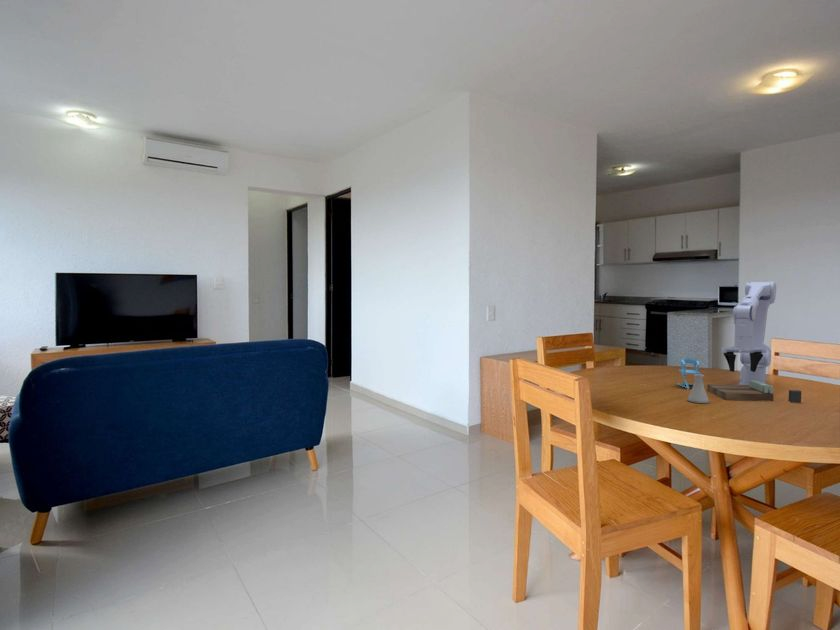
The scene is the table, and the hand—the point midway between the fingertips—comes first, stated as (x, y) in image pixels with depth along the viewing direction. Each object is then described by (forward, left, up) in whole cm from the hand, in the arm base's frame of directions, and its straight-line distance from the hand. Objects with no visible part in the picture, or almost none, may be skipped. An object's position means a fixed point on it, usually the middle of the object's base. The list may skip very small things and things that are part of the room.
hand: (742, 371), depth 185 cm
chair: (-13, -14, -10) cm, 21 cm away
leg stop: (+9, +14, -9) cm, 19 cm away
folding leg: (+2, +5, -7) cm, 9 cm away
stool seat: (0, -1, -9) cm, 9 cm away
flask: (+11, -20, -10) cm, 25 cm away
